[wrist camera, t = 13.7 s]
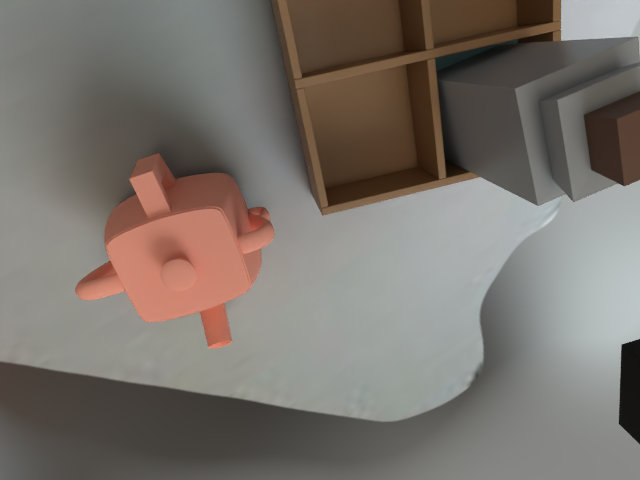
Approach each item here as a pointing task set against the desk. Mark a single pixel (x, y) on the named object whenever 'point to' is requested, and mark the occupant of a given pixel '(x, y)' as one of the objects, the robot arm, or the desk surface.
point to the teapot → (181, 247)
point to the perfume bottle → (545, 116)
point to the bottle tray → (387, 85)
